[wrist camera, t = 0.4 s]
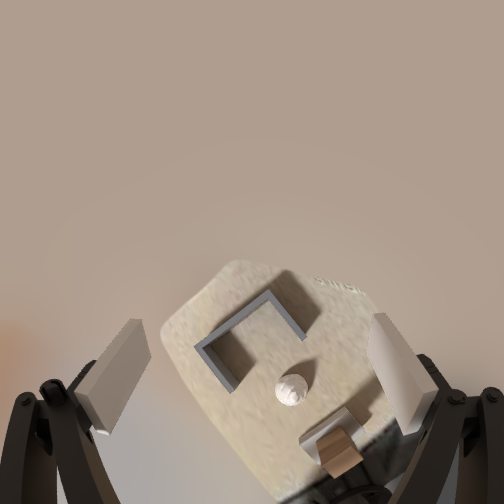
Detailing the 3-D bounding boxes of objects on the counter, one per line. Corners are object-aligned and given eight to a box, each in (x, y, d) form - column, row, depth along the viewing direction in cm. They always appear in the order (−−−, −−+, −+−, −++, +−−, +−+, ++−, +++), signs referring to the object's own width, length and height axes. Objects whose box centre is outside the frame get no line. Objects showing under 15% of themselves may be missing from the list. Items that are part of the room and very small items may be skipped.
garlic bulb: (312, 409, 37) (276, 415, 38) (309, 399, 43) (277, 404, 44) (308, 377, 39) (271, 382, 39) (305, 370, 44) (273, 375, 45)
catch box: (304, 334, 46) (307, 336, 41) (235, 386, 45) (229, 393, 40) (270, 291, 48) (268, 288, 43) (202, 343, 47) (193, 346, 42)
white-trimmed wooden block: (362, 426, 41) (381, 453, 29) (317, 458, 40) (324, 491, 28) (344, 405, 42) (361, 429, 30) (298, 438, 42) (301, 469, 30)
